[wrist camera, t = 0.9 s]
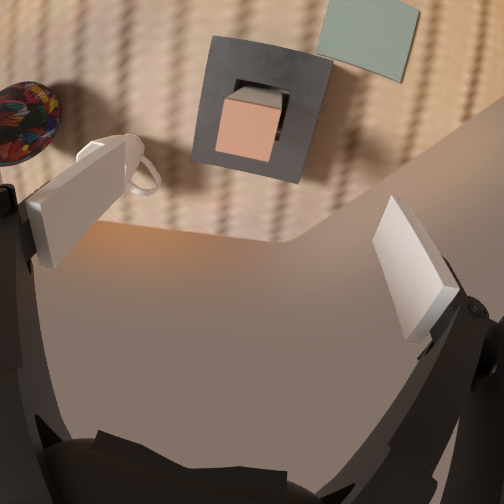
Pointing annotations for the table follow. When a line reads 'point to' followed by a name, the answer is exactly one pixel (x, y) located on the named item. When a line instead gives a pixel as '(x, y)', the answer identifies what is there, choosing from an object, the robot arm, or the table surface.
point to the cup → (127, 160)
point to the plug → (249, 122)
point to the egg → (26, 121)
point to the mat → (369, 34)
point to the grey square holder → (270, 73)
